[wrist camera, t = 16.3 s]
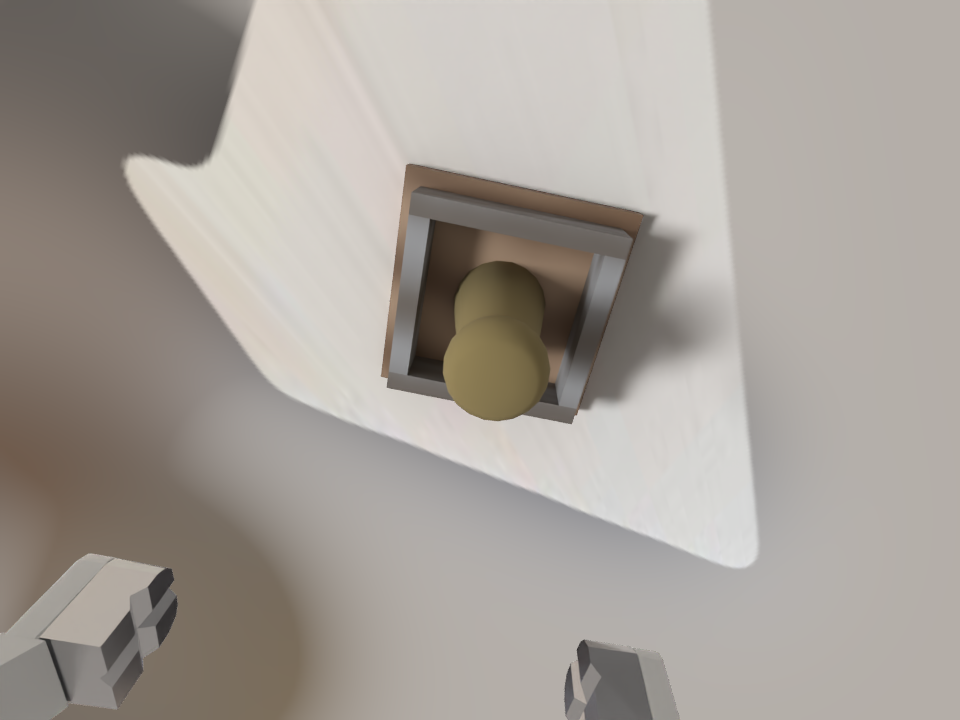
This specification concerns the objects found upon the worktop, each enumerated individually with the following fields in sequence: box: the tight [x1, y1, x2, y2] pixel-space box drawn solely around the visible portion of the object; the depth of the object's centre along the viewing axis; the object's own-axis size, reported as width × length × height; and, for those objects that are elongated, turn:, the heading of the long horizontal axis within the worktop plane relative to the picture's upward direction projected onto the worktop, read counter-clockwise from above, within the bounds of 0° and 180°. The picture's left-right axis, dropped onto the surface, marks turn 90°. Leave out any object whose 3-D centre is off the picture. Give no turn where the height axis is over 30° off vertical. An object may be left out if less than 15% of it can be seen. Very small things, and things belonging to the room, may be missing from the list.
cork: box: [443, 261, 551, 421], centre depth 27 cm, size 6×6×11 cm
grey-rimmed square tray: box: [381, 164, 643, 424], centre depth 31 cm, size 14×14×4 cm
